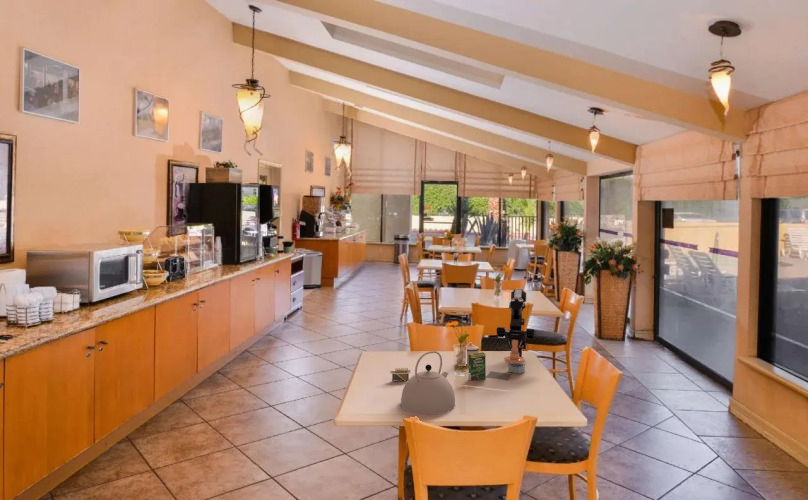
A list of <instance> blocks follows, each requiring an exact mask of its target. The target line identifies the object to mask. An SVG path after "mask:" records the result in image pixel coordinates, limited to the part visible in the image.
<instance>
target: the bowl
mask: <svg viewBox="0 0 808 500" xmlns="http://www.w3.org/2000/svg"><path fill="white" fill-rule="evenodd" d="M508 372H510V373H511V374H523V373H525V372H526V364H524V363H508Z"/></svg>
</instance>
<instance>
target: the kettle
mask: <svg viewBox="0 0 808 500" xmlns="http://www.w3.org/2000/svg"><path fill="white" fill-rule="evenodd" d="M430 354H437V355H438V356H439V361H440V362H439V369H438V372H437V371H432V367H433V366H432V365H431V364H426V365H425V370H423V371H419V372H418V366H419V364H420V362H421V360H422V359H423V357H425V356H427V355H430ZM442 367H443V356H442V355H441V353H440V352H439V351H436V350H431V351H427V352H425V353H423V354H421V356H420V357H419V358H418V359H417V361H416V364H415V369H414V375H412V376H411V377H410V378H409V380H406V383H405V385H404V386H403V389H402V391H401V400H400V402H401V403H400V405H401V407H402V408H403V409H404V410H405V409H406V410H405V411H407V410H408V412H410V411H411V412H410V413H414V414H420V415H440V414H443V413H444V414H445V413H449V412H451V411H453V410H454V409H455V408H456V395H455V390H454V388H453V385H452V384H451V383H450V381H449V380H448V379H447V378H448V375H449V372H447V371H445V370H444V371H443V372H441V371H442ZM454 407H455V408H454ZM452 409H453V410H452ZM448 411H449V412H448Z"/></svg>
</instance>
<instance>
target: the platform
mask: <svg viewBox="0 0 808 500" xmlns="http://www.w3.org/2000/svg"><path fill="white" fill-rule="evenodd" d="M389 374H392V375H391V377H392V378H391V380H392V381H391V382H394V381H393V380H404V382H407V381H408V380H409V379H410V378H409V374H411V369H408V367H401V368H399V367H396V368H395V369H394V370H390V371H389Z"/></svg>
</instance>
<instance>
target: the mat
mask: <svg viewBox="0 0 808 500" xmlns="http://www.w3.org/2000/svg"><path fill="white" fill-rule="evenodd" d="M512 375H513V373H507V372H500V371H498V372H497V371H490V372H488V374H487V375H486V378H488V379H494V380H495V379H496V380H504V381H509V379H511V377H512Z"/></svg>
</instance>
